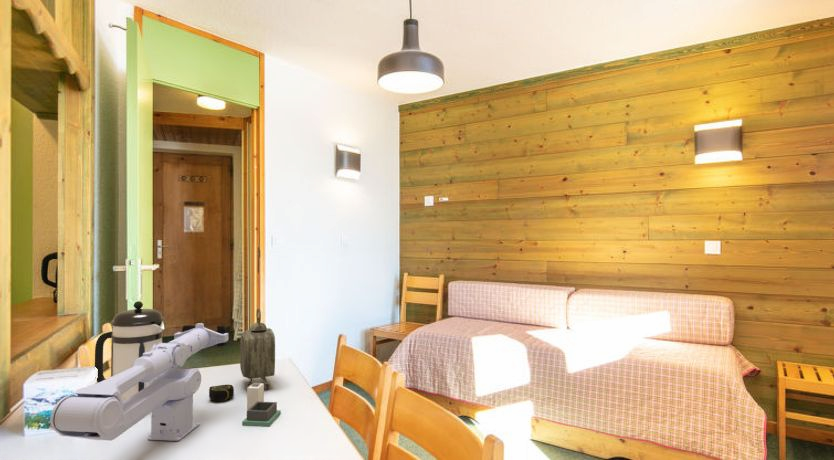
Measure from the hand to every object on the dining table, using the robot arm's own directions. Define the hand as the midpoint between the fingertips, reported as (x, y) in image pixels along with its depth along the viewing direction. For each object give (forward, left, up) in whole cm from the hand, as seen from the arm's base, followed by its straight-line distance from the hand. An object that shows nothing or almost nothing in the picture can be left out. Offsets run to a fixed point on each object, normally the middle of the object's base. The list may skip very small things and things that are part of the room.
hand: (216, 328), depth 131 cm
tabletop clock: (+15, -6, -22) cm, 27 cm away
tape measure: (+3, 0, -22) cm, 22 cm away
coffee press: (-5, +22, -22) cm, 32 cm away
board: (-11, -18, -22) cm, 30 cm away
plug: (-2, -13, -22) cm, 25 cm away
